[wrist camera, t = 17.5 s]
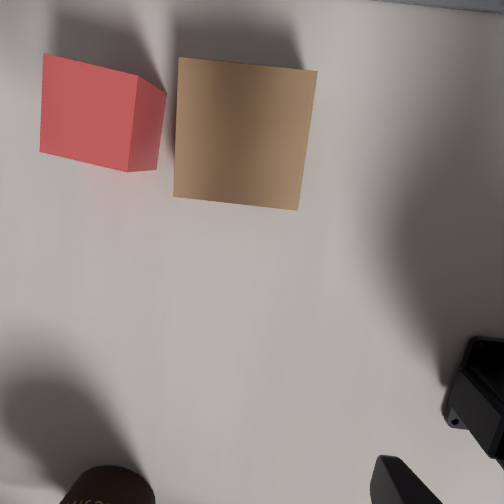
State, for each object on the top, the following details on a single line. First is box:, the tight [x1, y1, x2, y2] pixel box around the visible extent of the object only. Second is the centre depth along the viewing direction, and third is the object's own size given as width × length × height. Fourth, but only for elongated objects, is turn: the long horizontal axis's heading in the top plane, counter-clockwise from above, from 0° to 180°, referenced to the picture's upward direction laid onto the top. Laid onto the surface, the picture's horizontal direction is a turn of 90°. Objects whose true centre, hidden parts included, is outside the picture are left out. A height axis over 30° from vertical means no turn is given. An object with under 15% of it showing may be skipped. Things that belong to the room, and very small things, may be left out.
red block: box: [40, 53, 167, 172], centre depth 16 cm, size 4×4×4 cm
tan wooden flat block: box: [173, 57, 318, 211], centre depth 16 cm, size 6×6×3 cm
